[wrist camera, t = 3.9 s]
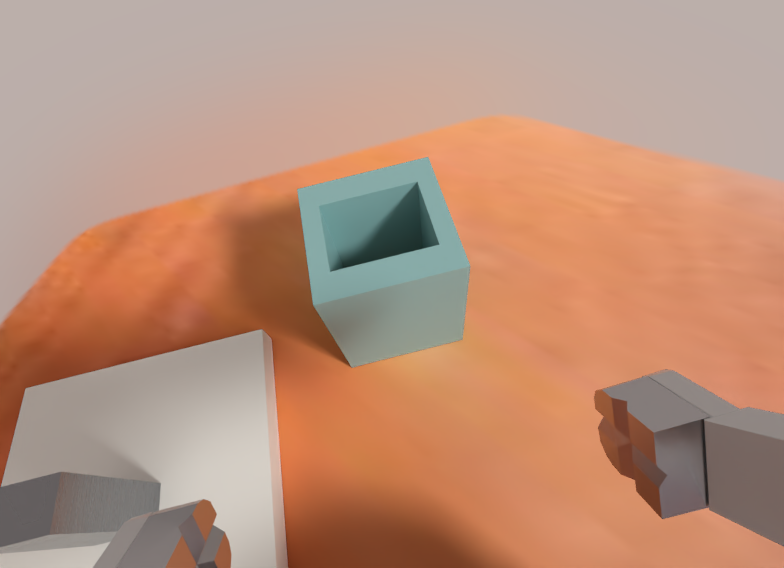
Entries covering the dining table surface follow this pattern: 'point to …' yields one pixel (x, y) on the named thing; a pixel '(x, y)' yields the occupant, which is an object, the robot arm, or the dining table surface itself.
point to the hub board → (166, 441)
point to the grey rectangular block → (70, 510)
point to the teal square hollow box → (385, 262)
